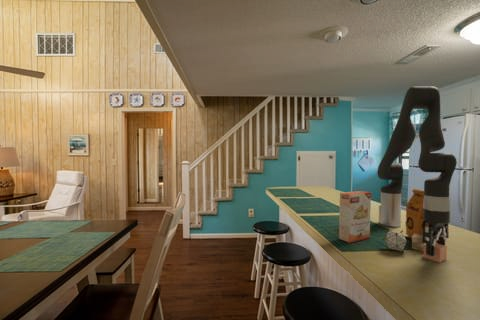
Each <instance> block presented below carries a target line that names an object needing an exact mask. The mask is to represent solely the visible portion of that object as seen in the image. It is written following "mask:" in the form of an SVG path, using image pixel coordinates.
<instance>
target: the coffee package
mask: <svg viewBox="0 0 480 320" xmlns="http://www.w3.org/2000/svg"><path fill="white" fill-rule="evenodd" d="M411 192H412V193H413V194H412V195H411V197H410V198H409V200H408V201H407V203H406V205H405V206H406V209H405V210H406V211H405V213H406V214H405V219H406V220H405V224H404V225H405V235H407V236H408V237H409V238H411V239H412V236H413V235H414V234H420V235H423V226H428V222H427V221H425V220H424V219H423V199H424V190H420V189H416V188H414V189H412V190H411ZM432 240H433V239H432ZM435 243H437V241H435Z"/></svg>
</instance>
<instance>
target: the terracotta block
mask: <svg viewBox="0 0 480 320" xmlns="http://www.w3.org/2000/svg"><path fill="white" fill-rule="evenodd" d="M447 249H448V246H447V245H446V244H445V245H441V244H438V243H435V245H434V256H430V255H427V254H426V244H424V251H423V258H424V259H428V260H430V261H433V262H437V263H442V262H444V261H447Z"/></svg>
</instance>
